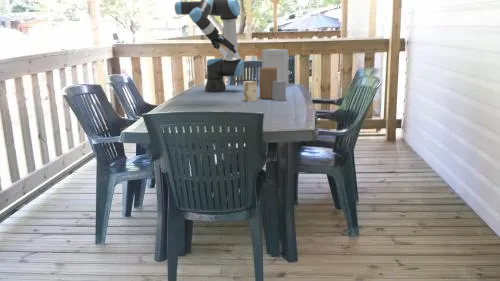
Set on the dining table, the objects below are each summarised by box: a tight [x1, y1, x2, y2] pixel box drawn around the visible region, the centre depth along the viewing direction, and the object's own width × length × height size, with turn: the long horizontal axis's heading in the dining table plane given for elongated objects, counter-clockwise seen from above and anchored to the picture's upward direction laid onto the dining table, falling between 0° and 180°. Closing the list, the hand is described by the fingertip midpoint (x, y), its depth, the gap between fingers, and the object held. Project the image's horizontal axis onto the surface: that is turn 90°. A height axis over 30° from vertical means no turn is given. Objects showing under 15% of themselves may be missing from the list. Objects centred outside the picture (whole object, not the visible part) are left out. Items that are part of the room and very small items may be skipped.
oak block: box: [242, 80, 258, 103], centre depth 287 cm, size 6×6×12 cm
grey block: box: [271, 80, 287, 102], centre depth 290 cm, size 6×6×12 cm
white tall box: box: [261, 48, 289, 88], centre depth 351 cm, size 19×15×28 cm
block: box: [259, 66, 277, 100], centre depth 297 cm, size 10×10×20 cm
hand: (231, 55), depth 280 cm, fingers open, 13 cm apart
